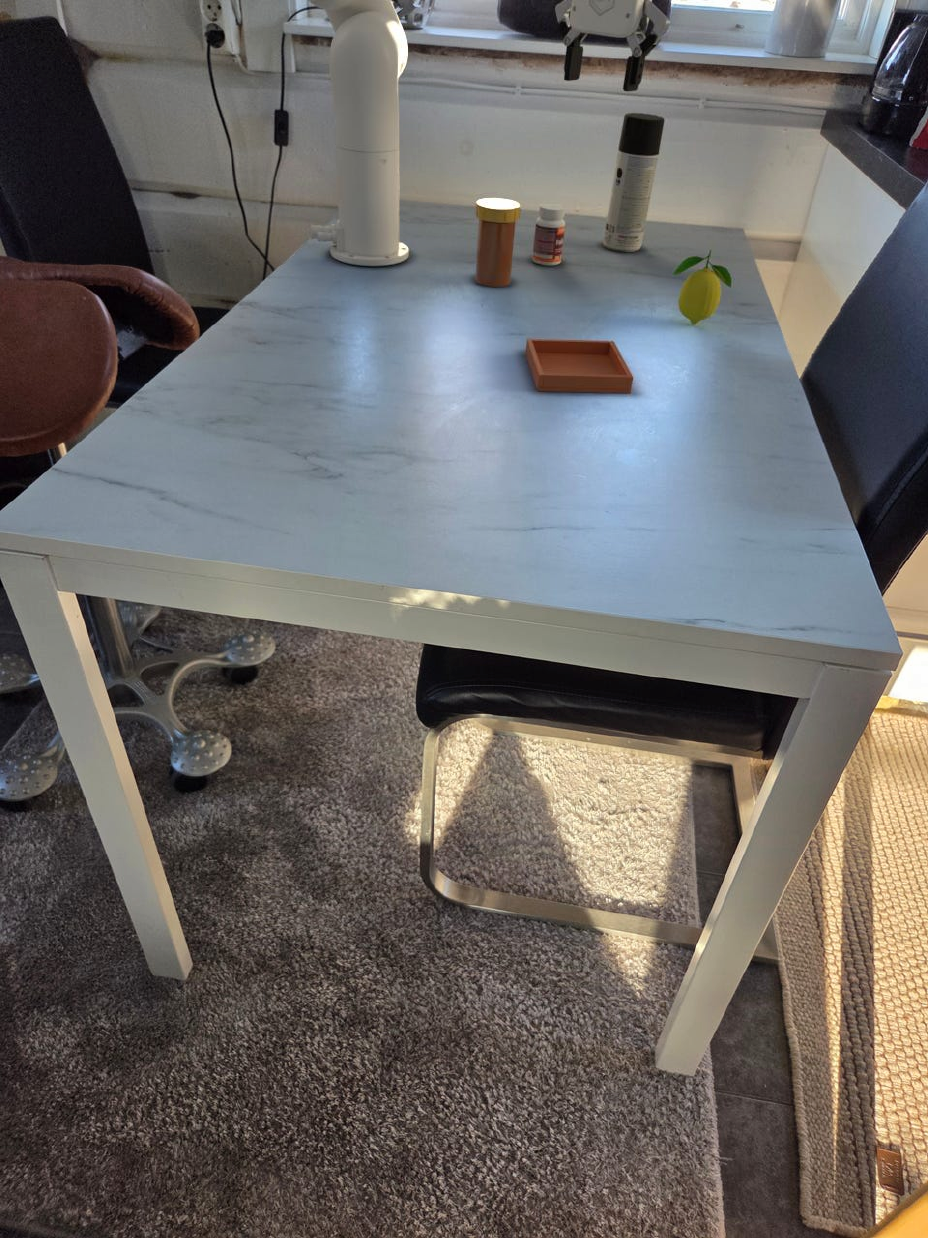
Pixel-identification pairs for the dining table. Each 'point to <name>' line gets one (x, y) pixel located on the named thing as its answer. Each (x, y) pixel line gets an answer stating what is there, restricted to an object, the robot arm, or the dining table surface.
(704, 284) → the lemon
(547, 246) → the pill bottle
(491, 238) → the brown jar
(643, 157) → the spray can
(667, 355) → the dining table surface
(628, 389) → the tray
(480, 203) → the jar lid
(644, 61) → the robot arm
